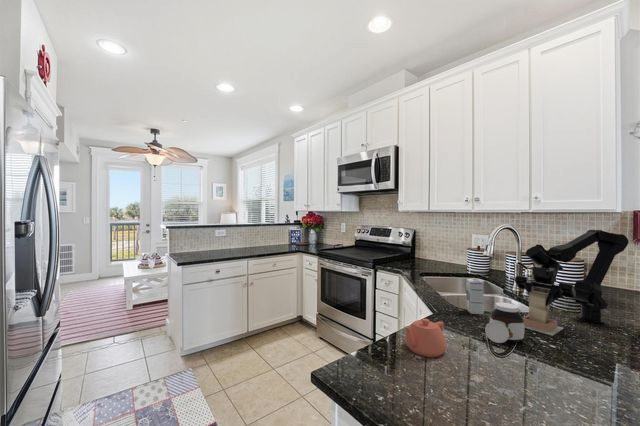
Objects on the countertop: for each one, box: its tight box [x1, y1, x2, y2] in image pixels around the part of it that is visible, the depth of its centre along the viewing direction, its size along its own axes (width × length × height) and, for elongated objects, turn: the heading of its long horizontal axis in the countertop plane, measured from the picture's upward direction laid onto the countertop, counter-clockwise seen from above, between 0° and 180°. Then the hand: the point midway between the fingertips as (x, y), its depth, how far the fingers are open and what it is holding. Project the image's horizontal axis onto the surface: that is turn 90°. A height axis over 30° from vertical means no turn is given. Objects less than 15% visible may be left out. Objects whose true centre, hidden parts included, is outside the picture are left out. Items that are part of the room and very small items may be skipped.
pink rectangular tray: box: [522, 314, 564, 337], centre depth 110 cm, size 12×12×3 cm
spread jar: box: [484, 302, 525, 344], centre depth 97 cm, size 12×11×12 cm
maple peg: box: [528, 290, 550, 324], centre depth 110 cm, size 5×5×11 cm
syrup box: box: [465, 278, 485, 315], centre depth 126 cm, size 6×6×14 cm
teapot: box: [403, 318, 448, 358], centre depth 89 cm, size 12×18×10 cm
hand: (537, 303), depth 109 cm, fingers closed on maple peg, 5 cm apart
